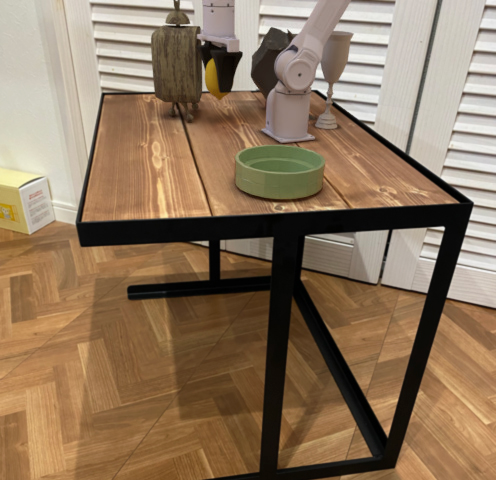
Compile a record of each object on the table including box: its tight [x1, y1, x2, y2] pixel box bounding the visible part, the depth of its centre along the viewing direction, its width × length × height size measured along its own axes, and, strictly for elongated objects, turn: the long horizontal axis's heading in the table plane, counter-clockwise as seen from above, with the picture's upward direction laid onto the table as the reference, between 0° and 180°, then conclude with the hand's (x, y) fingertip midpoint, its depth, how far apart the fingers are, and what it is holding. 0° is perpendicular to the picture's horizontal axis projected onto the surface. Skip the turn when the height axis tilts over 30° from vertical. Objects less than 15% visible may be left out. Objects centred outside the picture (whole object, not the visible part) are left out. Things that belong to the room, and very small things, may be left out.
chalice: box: [314, 30, 355, 130], centre depth 108 cm, size 7×7×18 cm
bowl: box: [234, 144, 326, 200], centre depth 82 cm, size 14×14×4 cm
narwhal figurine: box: [250, 26, 316, 120], centre depth 118 cm, size 14×15×18 cm
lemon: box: [204, 58, 235, 101], centre depth 97 cm, size 6×6×8 cm
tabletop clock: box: [150, 0, 203, 123], centre depth 109 cm, size 14×9×25 cm, turn 179°
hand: (219, 89), depth 98 cm, fingers closed on lemon, 5 cm apart
